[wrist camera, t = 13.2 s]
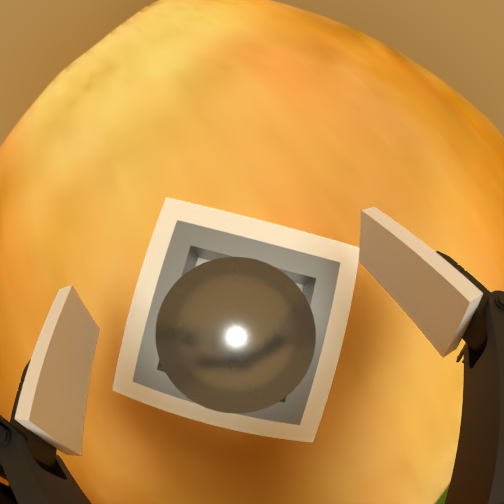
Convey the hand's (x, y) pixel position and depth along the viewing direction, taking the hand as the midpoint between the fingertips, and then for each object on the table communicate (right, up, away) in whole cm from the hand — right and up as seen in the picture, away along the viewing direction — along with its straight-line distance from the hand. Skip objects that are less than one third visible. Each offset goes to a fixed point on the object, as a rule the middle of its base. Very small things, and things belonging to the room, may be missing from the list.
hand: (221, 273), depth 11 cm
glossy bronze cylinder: (0, -4, +5) cm, 7 cm away
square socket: (0, -4, +6) cm, 7 cm away
